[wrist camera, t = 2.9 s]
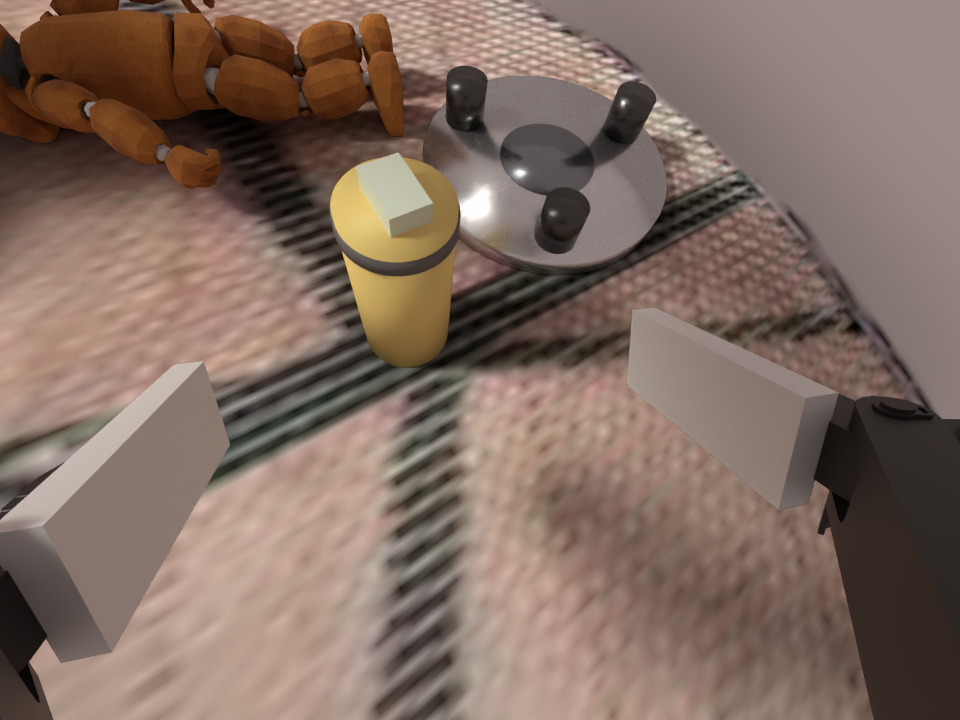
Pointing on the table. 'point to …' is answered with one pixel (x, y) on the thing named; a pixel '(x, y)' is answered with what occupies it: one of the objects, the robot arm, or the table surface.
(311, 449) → the table surface
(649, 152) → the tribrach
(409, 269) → the travel mug
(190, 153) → the toy
